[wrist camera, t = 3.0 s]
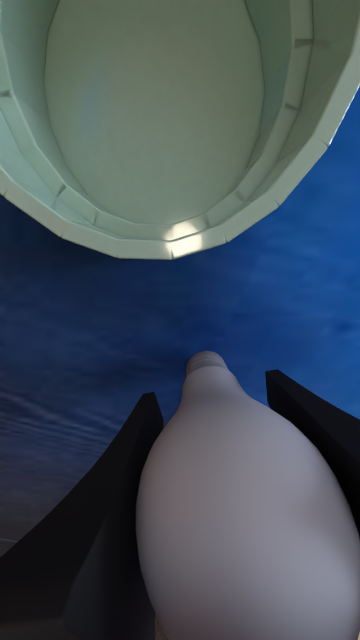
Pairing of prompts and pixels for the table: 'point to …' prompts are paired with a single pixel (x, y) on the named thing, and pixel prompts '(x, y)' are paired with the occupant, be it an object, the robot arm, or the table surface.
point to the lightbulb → (244, 522)
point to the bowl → (168, 114)
